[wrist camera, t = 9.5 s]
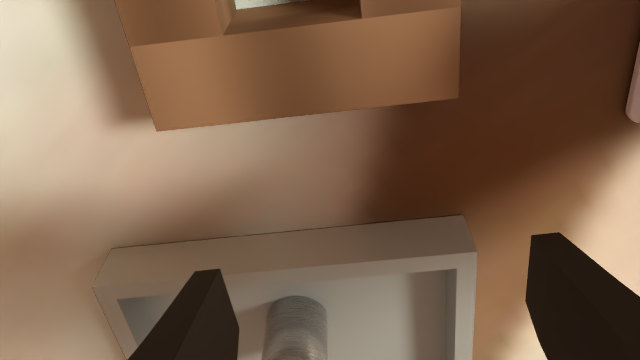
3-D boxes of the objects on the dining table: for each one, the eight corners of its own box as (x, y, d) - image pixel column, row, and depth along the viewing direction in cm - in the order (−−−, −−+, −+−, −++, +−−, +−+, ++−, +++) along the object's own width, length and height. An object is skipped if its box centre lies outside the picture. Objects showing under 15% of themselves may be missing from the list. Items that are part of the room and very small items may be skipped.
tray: (463, 214, 23) (477, 251, 21) (457, 386, 29) (468, 428, 27) (111, 248, 24) (91, 287, 22) (180, 407, 30) (169, 448, 28)
